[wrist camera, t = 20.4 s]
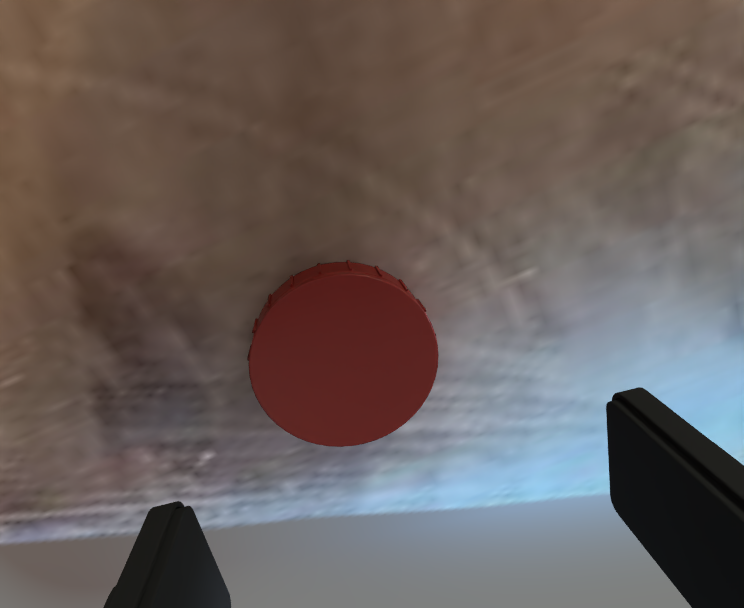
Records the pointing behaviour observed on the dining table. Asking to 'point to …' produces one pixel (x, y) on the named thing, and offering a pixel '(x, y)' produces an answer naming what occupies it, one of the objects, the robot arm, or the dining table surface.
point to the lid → (342, 354)
